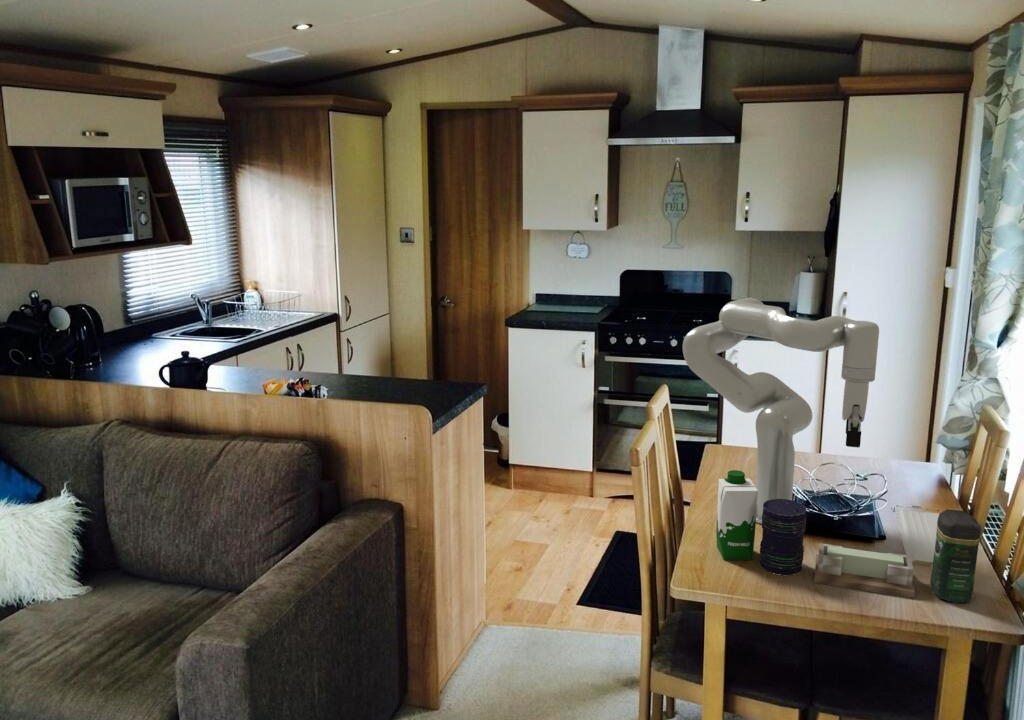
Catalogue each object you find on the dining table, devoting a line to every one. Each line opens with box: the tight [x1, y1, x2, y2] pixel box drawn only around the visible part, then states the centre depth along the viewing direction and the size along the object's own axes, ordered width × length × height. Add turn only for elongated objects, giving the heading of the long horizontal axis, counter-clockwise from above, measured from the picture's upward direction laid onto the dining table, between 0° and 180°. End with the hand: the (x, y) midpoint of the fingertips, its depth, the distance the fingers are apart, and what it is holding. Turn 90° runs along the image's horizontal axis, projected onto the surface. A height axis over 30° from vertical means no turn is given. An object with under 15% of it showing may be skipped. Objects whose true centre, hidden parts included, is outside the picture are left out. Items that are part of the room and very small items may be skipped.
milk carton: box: [715, 469, 758, 561], centre depth 206 cm, size 9×9×20 cm
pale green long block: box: [827, 546, 904, 579], centre depth 195 cm, size 16×4×4 cm, turn 69°
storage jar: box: [759, 499, 807, 576], centre depth 200 cm, size 10×10×15 cm
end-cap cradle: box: [814, 543, 915, 599], centre depth 195 cm, size 21×12×6 cm, turn 69°
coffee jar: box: [929, 508, 982, 604], centre depth 186 cm, size 10×8×19 cm
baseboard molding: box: [891, 504, 940, 566], centre depth 216 cm, size 31×3×12 cm
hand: (852, 440), depth 209 cm, fingers open, 9 cm apart
